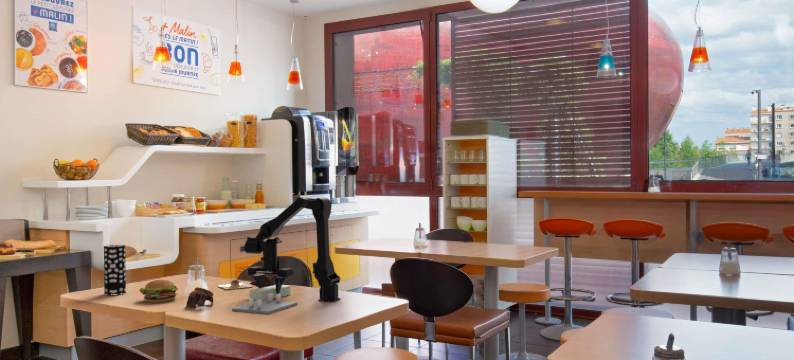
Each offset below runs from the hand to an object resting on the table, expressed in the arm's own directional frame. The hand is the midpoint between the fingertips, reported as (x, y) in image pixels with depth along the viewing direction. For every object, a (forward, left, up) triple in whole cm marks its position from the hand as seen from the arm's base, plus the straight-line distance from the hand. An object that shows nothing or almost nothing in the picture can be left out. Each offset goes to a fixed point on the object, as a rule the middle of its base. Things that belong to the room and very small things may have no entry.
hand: (270, 293), depth 268 cm
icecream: (+12, -12, -2) cm, 17 cm away
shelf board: (0, 0, -2) cm, 2 cm away
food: (+38, +21, -2) cm, 43 cm away
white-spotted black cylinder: (+66, +17, -2) cm, 68 cm away
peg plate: (-11, +19, -2) cm, 22 cm away
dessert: (+29, -15, -2) cm, 32 cm away
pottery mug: (+13, +27, -2) cm, 29 cm away
